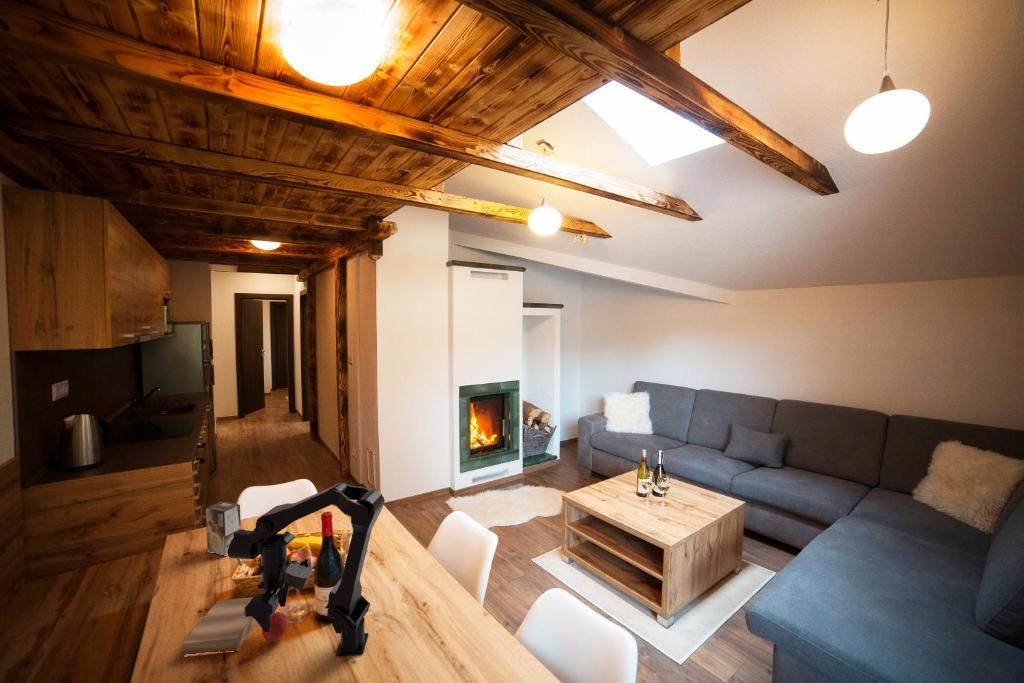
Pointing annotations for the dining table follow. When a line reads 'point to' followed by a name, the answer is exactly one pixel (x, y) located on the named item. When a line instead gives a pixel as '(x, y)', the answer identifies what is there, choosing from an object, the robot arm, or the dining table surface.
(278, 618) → the onion
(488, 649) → the dining table surface
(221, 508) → the coffee box
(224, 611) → the grey flat block
